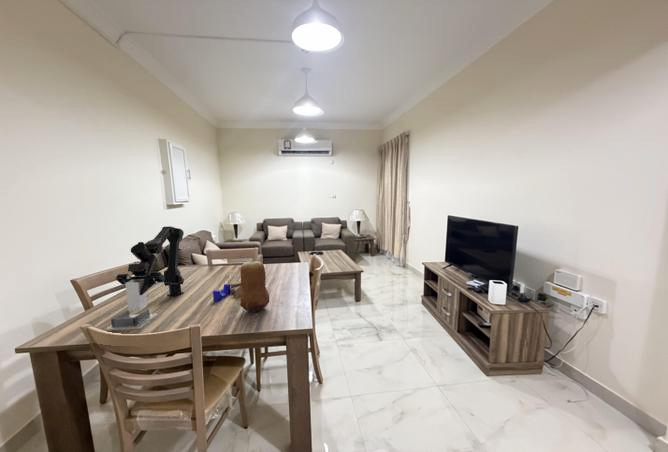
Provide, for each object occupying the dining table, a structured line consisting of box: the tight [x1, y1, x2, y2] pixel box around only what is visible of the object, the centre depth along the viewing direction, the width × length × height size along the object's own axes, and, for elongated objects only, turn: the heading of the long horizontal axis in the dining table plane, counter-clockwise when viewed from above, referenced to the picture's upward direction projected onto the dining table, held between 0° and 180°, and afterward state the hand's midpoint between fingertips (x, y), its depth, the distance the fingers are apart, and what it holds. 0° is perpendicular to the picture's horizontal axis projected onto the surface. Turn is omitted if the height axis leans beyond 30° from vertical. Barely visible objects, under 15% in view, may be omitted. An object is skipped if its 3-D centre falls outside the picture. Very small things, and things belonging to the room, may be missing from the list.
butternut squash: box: [239, 260, 270, 313], centre depth 129 cm, size 14×13×25 cm
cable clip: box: [212, 283, 231, 303], centre depth 149 cm, size 12×4×6 cm, turn 170°
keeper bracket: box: [105, 309, 159, 331], centre depth 120 cm, size 13×14×4 cm
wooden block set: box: [229, 280, 242, 299], centre depth 158 cm, size 17×6×18 cm
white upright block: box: [124, 279, 148, 312], centre depth 119 cm, size 5×5×13 cm
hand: (134, 295), depth 118 cm, fingers closed on white upright block, 5 cm apart
